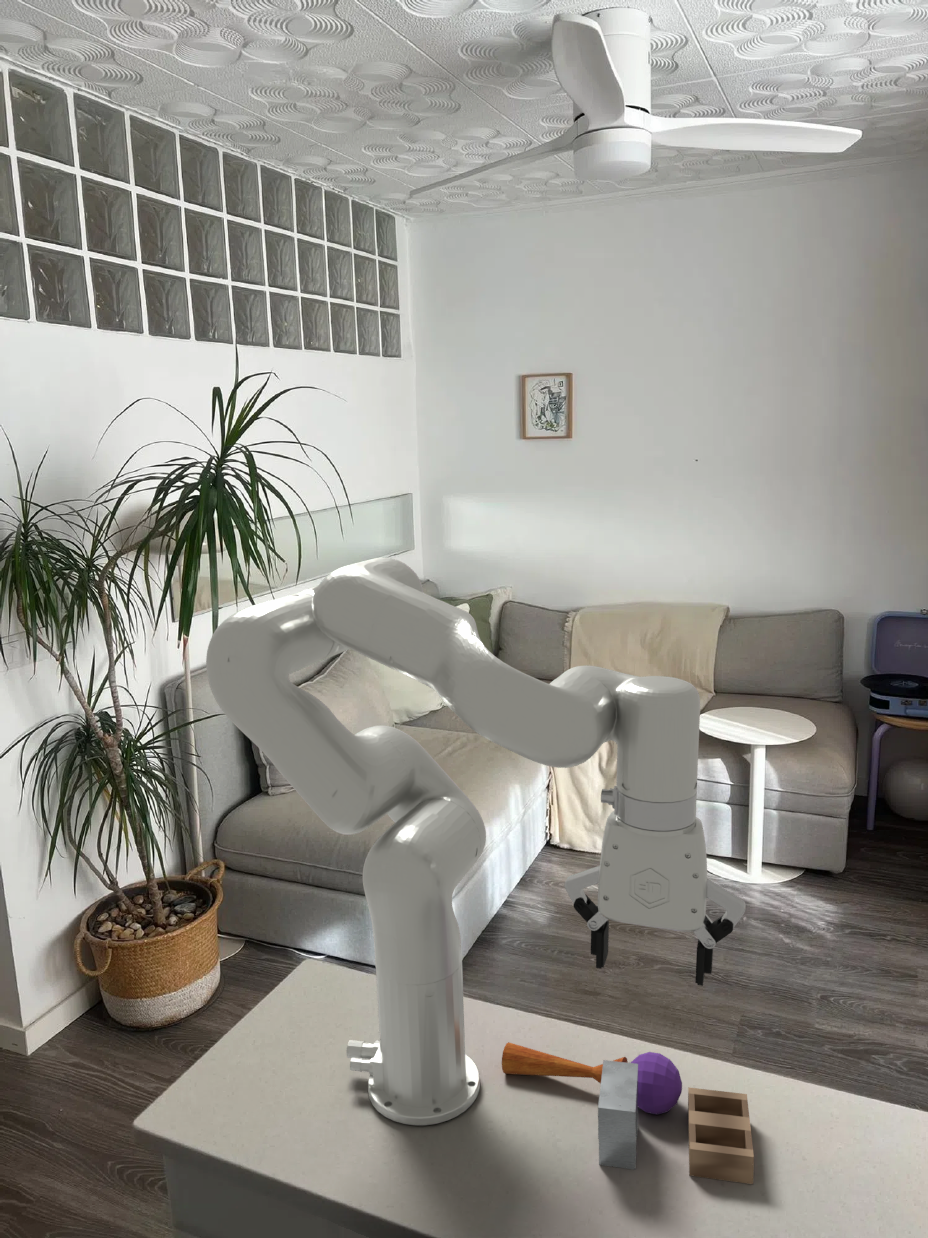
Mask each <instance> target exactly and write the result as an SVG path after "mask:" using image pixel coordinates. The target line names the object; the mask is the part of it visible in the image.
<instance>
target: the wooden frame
mask: <svg viewBox="0 0 928 1238" xmlns="http://www.w3.org/2000/svg"><path fill="white" fill-rule="evenodd" d="M687 1093H688V1094H687V1098H688V1099H687V1124H688V1125H687V1127H688V1130H687V1131H688V1135H687V1136H688V1167H689V1168H688V1170H689V1171H688V1173H689V1176H690V1177H696V1178H703V1179H705V1178H706V1179H713V1180H717V1181H718V1180H719V1181H727V1182H734V1183H742V1184H749V1185H753V1184H754V1170H755V1169H754V1166H755V1163H754V1162H755V1155H754V1147H753V1136H752V1128H751V1120H750V1111H749V1103H748V1094H747V1093H740V1092H733V1091H732V1092H731V1091H724V1090H723V1091H722V1090H714V1089H713V1090H712V1089H706V1088H705V1089H704V1088H695V1087H691V1086H690V1087H688V1088H687Z"/></svg>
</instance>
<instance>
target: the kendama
mask: <svg viewBox="0 0 928 1238" xmlns="http://www.w3.org/2000/svg"><path fill="white" fill-rule="evenodd" d="M612 1061H617V1062H626V1063H629V1062H628V1058H627V1057H626V1056H624V1057H620V1058H617V1059H613V1060H612ZM630 1063H635V1064H638V1109H641V1110H642V1111H644V1112H645V1113H647V1114H652V1115H660V1114H664V1113H668V1112H669V1111H670V1110H672V1108H674V1107H675V1106H676V1105H677V1104H678V1102H679V1100H680V1097H681V1095H682V1091H683V1081H682V1078H681V1074H680V1071H679V1069H678V1068H677V1066H676V1065H675V1064H674V1062H673V1061H672V1060H671V1059H670V1058H668V1057H667V1056H665V1055H664V1054H661V1053H660V1052H655V1051H654V1052H653V1051H648V1052H644V1053H641V1054H638V1055H637V1056H636V1057H635V1058H634V1059H633V1060H632V1061H630ZM501 1069H502V1072H503V1074H506V1075H523V1076H524V1075H525V1076H543V1077H545V1076H547V1077H563V1078H564V1077H567V1078H568V1077H569V1078H584V1079H585V1078H587V1079H593V1080H594V1081H596V1082H597V1083H599V1084H600V1085H601V1077H602V1069H603V1063H602V1064H599V1065H595V1066H590V1065H588V1064H584V1063H581V1062H578V1061H574V1060H570V1059H567V1058H564V1057H559V1056H556V1055H554V1054H549V1053H546V1052H543V1051H540V1050H537V1049H532V1048H529V1047H526V1046H522V1045H520V1044H516V1043H512V1042H507V1043H505V1046H504V1048H503V1051H502V1056H501Z"/></svg>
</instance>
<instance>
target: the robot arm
mask: <svg viewBox="0 0 928 1238" xmlns="http://www.w3.org/2000/svg"><path fill="white" fill-rule="evenodd" d="M349 650H351V651H354V652H356V653H358V654H360V655H362V656H364V657H366V658H368V659H370V660H373V661H375V662H377V663H379V664H381V665H383V666H386V667H388V668H390V669H391V670H394V671H395V672H398V673H400V674H402V675H405V676H406V677H408V678H410V679H412V680H415V681H416V682H418V683H421V684H422V685H424V686H426V687H429V688H430V689H432V690H434V691H435V692H436V693H437V694H438V696H439V697H440V698H441V700H442V701H443V703H444V704H445V705H446V706H447V707H448V708H449V709H450V710H451V711H452V712H453V713H454V714H455V715H456V716H457V717H458V718H459V720H461V721H462V722H463V723H464V724H465V725H466V726H468V727H469V728H470V729H471V730H473V731H474V732H475V733H476V734H478V735H480V736H481V737H483V738H484V739H486V740H489V741H490V742H492V743H493V744H497V745H499V746H500V747H502V748H504V749H505V750H508V751H510V752H513V753H515V754H517V755H519V756H521V757H523V758H525V759H527V760H530V761H531V762H532V761H533V762H535V763H538V764H540V765H542V766H543V765H544V766H548V767H552V768H556V769H557V768H558V769H559V768H562V769H563V768H564V769H566V768H567V769H568V768H573V767H577V766H580V765H582V764H584V763H585V762H587V761H588V760H589V759H591V758H592V757H593V756H594V755H595V754H596V752H598V750H599V749H600V748H601V747H602V745H603V744H605V743H608V742H609V741H613V742H614V743H616V745H617V746H616V751H617V752H616V781H615V782H616V784H615V785H614V787H613V788H609V789H607V788H602V789H601V792H600V793H601V794H600V803H603V804H608V805H609V806H612V809H613V811H612V812H610V814H609V816H607V819H606V822H605V826H604V831H603V837H602V842H601V849H600V851H601V852H600V859H599V865H597V866H595V867H592V868H589V869H586V870H583V871H580V872H578V873H574V874H571V875H569V876H567V878H566V879H565V881H564V889H565V890H566V893H567V894H568V897H569V899H570V901H572V903H573V908H574V910H575V911H576V912H577V913H578V914H579V916H581V917H582V918H583V920H584V921H585V922H586V923H587V924H586V925H587V928H588V929H589V930H590V955H592V956H595V968H596V969H599V970H602V968H605V964H606V961H607V958H608V956H609V941H610V940H609V938H610V937H609V936H610V935H609V933H610V928H609V927H610V921H613V922H617V923H622V924H629V925H635V926H641V927H642V926H643V927H648V928H654V929H660V930H661V929H662V930H668V931H675V932H683V933H685V932H686V933H691V932H692V933H693V934H694V935H695V936H696V938H697V945H696V956H695V957H696V959H695V961H696V962H695V963H696V964H695V980H694V981H695V984H697V986H701V987H702V986H704V981H705V980H704V979H705V974H709V975H712V973H713V960H714V959H713V958H714V957H713V956H714V948H715V947H716V945H717V943H719V941H721V940H723V939H724V938H726V937H727V936H729V935H730V934H731V933H733V931H734V928H735V926H737V924H738V923H739V921H740V920H741V919H742V917H743V916H744V914H745V913H746V907H747V906H746V902H745V900H744V899H742V898H740V897H739V896H737V895H735V894H733V893H732V892H730V891H729V890H727V889H726V888H725V887H722V886H721V885H719V884H717V883H715V882H714V881H712V880H711V879H709V877H708V860H707V859H708V858H707V848H706V847H707V846H706V838H705V831H704V826H703V821H702V820H701V819H700V818H699V817H697V797H698V796H697V795H698V794H697V792H698V791H697V790H698V767H699V766H698V765H699V748H700V747H699V746H700V740H699V739H700V724H701V722H700V721H701V719H700V716H701V696H700V693H699V690H698V689H697V688H696V687H695V686H694V685H693V683H691V682H689V681H686V680H684V679H682V678H677V677H674V676H673V677H672V676H665V675H664V676H663V675H647V676H638V675H634V674H633V675H632V674H630V673H624V672H621V671H617V670H613V669H609V668H606V667H600V666H595V665H577V666H574V667H571V668H569V669H567V670H565V671H564V672H562V673H561V674H560V675H559V676H558V677H556V678H555V679H553V680H552V681H551V682H550V683H547V682H545V681H544V680H543V681H542V680H540V679H538V678H536V677H534V676H531V675H529V674H527V673H525V672H522V671H521V670H519V669H517V668H515V667H513V666H511V665H509V664H508V663H506V662H504V661H502V660H501V659H500V658H498V657H497V656H495V654H493V653H492V652H491V651H490V650H489V649H488V648H487V647H486V646H485V644H484V643H483V641H482V640H481V638H480V635H479V631H478V627H477V623H476V620H475V618H474V617H473V616H472V615H471V613H469V612H468V611H466V610H464V609H462V608H459V607H457V606H454V605H452V604H450V603H448V602H446V601H443V600H441V599H438V598H436V597H434V596H432V595H430V594H427V593H425V592H424V587H423V583H422V582H421V579H420V577H419V576H418V574H417V573H416V572H415V571H414V570H413V569H412V568H411V567H410V566H409V565H407V564H406V563H405V562H402V561H400V560H398V559H395V558H392V557H384V556H383V557H375V558H371V559H367V560H363V561H359V562H355V563H350V564H348V565H343V566H342V567H338V568H337V569H335V570H333V571H332V572H330V573H329V574H327V575H326V576H325V577H324V578H323V579H322V580H321V582H320V583H319V584H317V585H315V586H312V587H310V588H307V589H303V590H302V591H299V592H296V593H292V594H290V595H289V594H288V595H286V596H285V595H284V596H283V597H279V598H275V599H272V600H267V601H263V602H260V603H256V604H253V605H251V606H250V605H249V606H248V607H246V608H243V609H241V610H238V611H237V612H235V613H233V614H231V615H229V616H228V617H227V618H226V619H224V620H223V621H222V622H221V623H220V624H219V625H218V627H216V629H215V630H214V632H213V634H212V636H211V638H210V640H209V643H208V646H207V650H206V656H205V657H206V658H205V661H206V662H205V664H206V665H205V666H206V675H207V680H208V684H209V688H210V691H211V693H212V696H213V698H214V699H215V702H216V703H217V704H218V705H217V706H218V707H219V708H220V709H221V711H222V713H223V714H224V716H226V717H227V718H228V720H230V722H231V723H232V724H234V725H235V726H236V727H237V728H238V730H240V731H241V732H242V733H243V734H244V735H245V736H246V737H247V738H248V739H249V740H250V741H251V742H252V743H253V744H254V745H256V747H258V750H260V751H262V753H263V754H264V755H265V756H266V757H267V758H268V759H269V760H270V762H271V763H272V764H273V766H274V767H275V769H276V770H277V771H278V772H279V774H281V775H282V777H283V778H284V779H285V780H286V781H287V782H288V784H289V785H290V786H291V787H292V788H293V789H294V791H296V792H297V794H298V795H299V796H300V797H301V798H302V800H304V802H305V803H306V804H307V805H308V806H309V808H310V809H311V810H312V812H314V814H316V816H317V817H318V818H319V819H320V820H321V821H322V822H323V823H324V824H325V826H327V827H328V828H330V830H333V831H334V832H336V833H338V834H340V835H344V836H345V835H356V834H360V833H361V832H363V831H365V830H368V829H369V828H370V827H372V826H373V825H375V824H376V823H377V822H379V821H380V820H381V819H382V818H384V817H385V816H386V815H387V816H388V817H389V818H390V820H392V821H393V824H392V825H391V826H389V827H388V829H386V830H385V831H384V832H383V833H382V834H381V835H380V836H379V837H378V838H377V839H376V841H375V842H374V843H373V845H372V846H371V848H370V849H369V851H368V853H367V855H366V857H365V859H364V860H365V861H364V863H363V868H362V884H363V891H364V894H365V895H364V896H365V899H366V904H367V908H368V911H369V917H370V921H371V928H372V935H373V949H374V951H373V952H374V966H375V973H376V975H375V978H376V994H377V995H376V996H377V1010H378V1011H377V1012H378V1015H377V1016H378V1033H379V1040H378V1039H376V1040H375V1041H374V1042H366V1041H365V1040H364V1041H363V1040H356V1039H349V1040H348V1043H347V1045H346V1050H345V1051H346V1053H345V1055H346V1058H349V1059H350V1062H349V1071H353V1072H364V1073H365V1072H368V1073H369V1077H368V1080H367V1091H368V1092H367V1093H368V1098H369V1100H370V1102H371V1105H372V1106H373V1107H374V1108H375V1110H376V1111H377V1112H378V1113H380V1114H381V1115H382V1116H383V1117H385V1118H387V1119H389V1120H391V1121H393V1122H397V1123H400V1124H404V1125H409V1126H429V1125H436V1124H441V1123H443V1122H446V1121H450V1120H451V1119H454V1118H456V1117H458V1116H460V1115H461V1114H463V1113H464V1112H466V1111H467V1110H468V1109H469V1108H470V1107H471V1106H472V1105H473V1104H474V1102H475V1100H476V1099H477V1098H478V1095H479V1092H480V1088H481V1087H480V1086H481V1085H480V1084H481V1080H480V1071H479V1068H478V1066H477V1065H476V1063H475V1062H474V1059H472V1058H471V1057H470V1056H468V1054H466V1041H465V1040H466V1038H465V1037H466V1035H465V1034H466V1033H465V1011H464V1009H465V1008H464V1005H465V1004H464V982H463V981H464V980H463V978H464V976H463V975H464V974H463V958H462V955H463V954H462V940H461V933H460V927H459V923H458V919H457V918H456V917H457V916H456V914H455V911H454V907H453V894H454V891H455V889H456V888H457V886H458V885H459V884H460V883H461V882H462V880H463V879H464V877H465V876H466V875H467V874H468V872H470V871H471V869H472V868H473V867H474V866H475V864H476V863H477V862H478V861H479V859H480V857H481V856H482V855H483V852H484V849H485V846H486V842H487V832H486V826H485V822H484V820H483V817H482V816H481V814H480V812H479V810H478V809H477V807H476V806H475V805H474V803H473V802H472V801H471V799H470V798H469V797H468V796H467V794H466V793H465V792H464V791H463V790H462V789H461V788H460V786H458V784H457V783H456V782H455V781H454V780H453V779H452V778H451V776H450V775H448V773H447V772H446V771H445V770H444V769H443V768H442V767H441V766H440V764H439V763H438V762H437V761H436V760H435V759H434V758H433V757H432V755H431V754H430V753H429V752H428V750H426V749H425V748H424V747H423V746H422V745H421V744H420V742H418V740H416V739H415V738H414V737H412V736H411V734H409V733H406V732H405V731H403V730H401V729H399V728H397V727H394V726H390V725H381V724H380V725H373V726H370V727H366V728H364V729H362V730H360V731H358V732H357V733H355V734H353V733H352V732H351V731H350V730H349V729H348V728H347V727H346V726H345V725H344V724H343V723H342V722H341V721H340V720H339V719H338V717H336V716H335V713H334V712H332V710H331V709H330V708H329V707H328V706H327V705H326V704H325V703H324V702H323V701H322V700H320V699H319V698H317V697H316V696H315V695H313V694H311V693H310V692H309V691H307V690H304V689H303V688H301V687H299V686H297V685H296V684H294V683H293V682H292V681H291V680H290V678H289V677H290V675H291V674H293V673H296V672H300V671H301V670H303V669H306V668H308V667H310V666H313V665H315V664H318V663H320V662H322V661H324V660H327V659H329V658H333V657H335V656H336V655H339V654H342V653H344V652H346V651H349ZM594 885H597V887H598V888H597V904H595V903H594V901H592V899H591V898H590V897H589V896H588V895H587V894H586V893H585V889H586V888H588V887H592V886H594ZM707 899H708V900H710V901H711V902H713V903H714V904H716V905H717V906H720V907H721V908H723V909H724V910H725V912H724V914H722V915H721V916H720V917H718V918H716V919H715V920H714V921H713V920H712V919H711V918H710V917H709V915H708V914H707V913H706V911H707Z"/></svg>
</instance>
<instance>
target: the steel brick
mask: <svg viewBox="0 0 928 1238" xmlns="http://www.w3.org/2000/svg"><path fill="white" fill-rule="evenodd" d="M602 1060H603V1061H602V1064H603V1069H602V1077H601V1084H600V1088H599V1096H598V1104H597V1105H598V1107H597V1120H598V1121H597V1125H598V1126H597V1133H598V1134H597V1139H598V1165H599V1166H606V1167H612V1166H613V1168H621V1169H629V1170H633V1171H634V1170H636V1169H637V1168H636V1167H637V1166H636V1165H637V1138H638V1132H639V1131H638V1129H639V1128H638V1127H639V1125H638V1123H639V1122H638V1121H639V1119H638V1118H639V1110H638V1109H639V1107H638V1064H635V1063H631V1062H628V1063H626V1062H617V1061H613V1060H608V1059H607V1060H606V1059H602Z"/></svg>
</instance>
